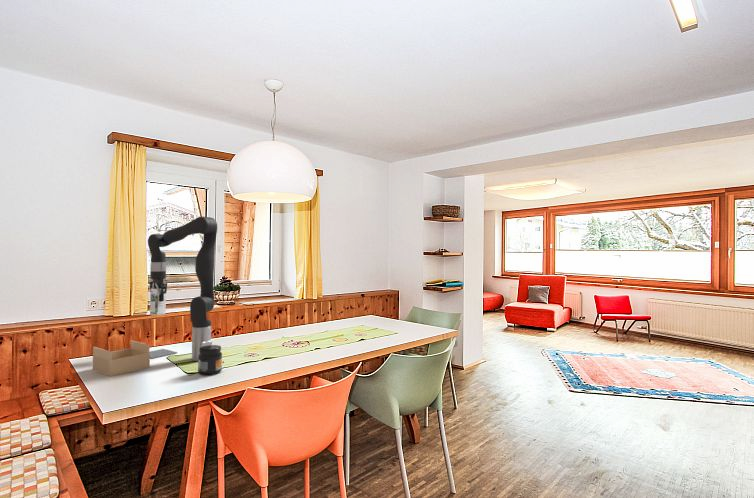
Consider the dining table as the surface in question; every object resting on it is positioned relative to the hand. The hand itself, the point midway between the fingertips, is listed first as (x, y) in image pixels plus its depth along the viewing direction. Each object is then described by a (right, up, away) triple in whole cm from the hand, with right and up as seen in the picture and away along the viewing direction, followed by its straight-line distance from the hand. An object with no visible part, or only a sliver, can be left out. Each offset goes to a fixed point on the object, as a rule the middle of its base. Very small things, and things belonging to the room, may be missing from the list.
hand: (158, 300), depth 220 cm
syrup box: (0, -8, 0) cm, 8 cm away
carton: (-3, -29, -26) cm, 40 cm away
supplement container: (+42, -30, -32) cm, 61 cm away
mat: (0, -29, 0) cm, 29 cm away
